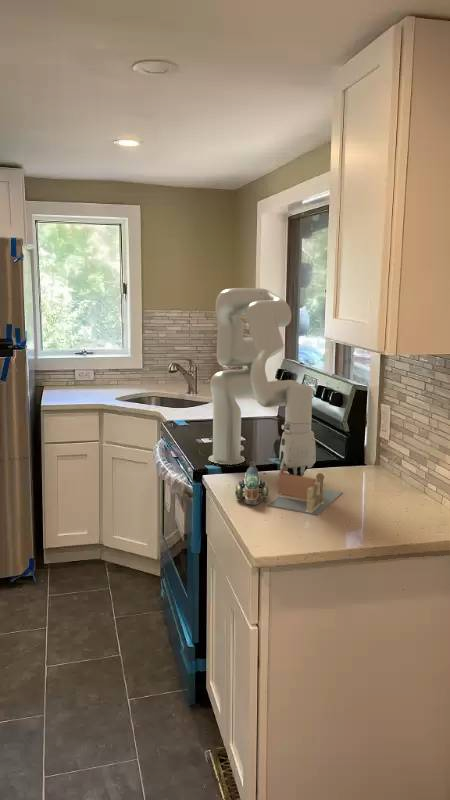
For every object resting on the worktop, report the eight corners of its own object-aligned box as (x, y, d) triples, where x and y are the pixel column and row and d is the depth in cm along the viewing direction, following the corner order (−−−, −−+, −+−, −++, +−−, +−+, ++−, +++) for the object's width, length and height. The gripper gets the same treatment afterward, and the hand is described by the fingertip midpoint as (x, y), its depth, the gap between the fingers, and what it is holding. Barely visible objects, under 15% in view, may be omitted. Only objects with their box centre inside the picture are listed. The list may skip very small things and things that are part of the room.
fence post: (316, 501, 183) (317, 471, 181) (324, 502, 182) (325, 472, 180) (304, 512, 175) (305, 481, 173) (312, 513, 174) (313, 482, 172)
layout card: (294, 484, 198) (295, 483, 197) (342, 493, 191) (342, 491, 191) (267, 505, 179) (267, 504, 179) (318, 515, 172) (318, 514, 172)
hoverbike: (234, 507, 179) (234, 478, 177) (237, 479, 203) (237, 453, 201) (268, 508, 178) (269, 479, 177) (267, 480, 203) (268, 454, 201)
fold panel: (314, 499, 183) (315, 476, 182) (313, 500, 182) (314, 477, 181) (280, 492, 188) (280, 469, 187) (278, 493, 187) (279, 470, 186)
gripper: (282, 432, 179) (280, 495, 182) (326, 427, 185) (324, 488, 189) (269, 426, 185) (267, 487, 189) (312, 422, 192) (310, 481, 195)
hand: (295, 487), depth 189 cm, fingers closed
